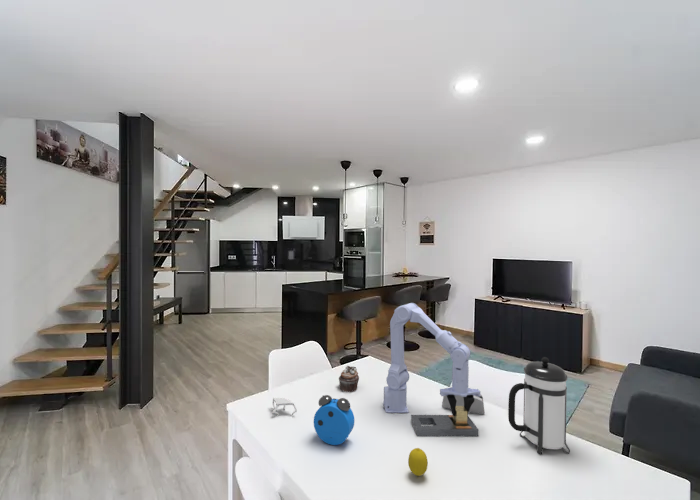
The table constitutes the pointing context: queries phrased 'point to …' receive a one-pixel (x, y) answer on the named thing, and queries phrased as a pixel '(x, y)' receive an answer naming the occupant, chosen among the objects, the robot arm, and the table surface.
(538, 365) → the coffee press
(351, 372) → the cupcake
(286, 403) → the miniature table
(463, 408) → the brass peg
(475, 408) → the grey rounded block
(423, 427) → the rail plate
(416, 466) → the lemon
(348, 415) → the alarm clock
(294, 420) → the table surface
